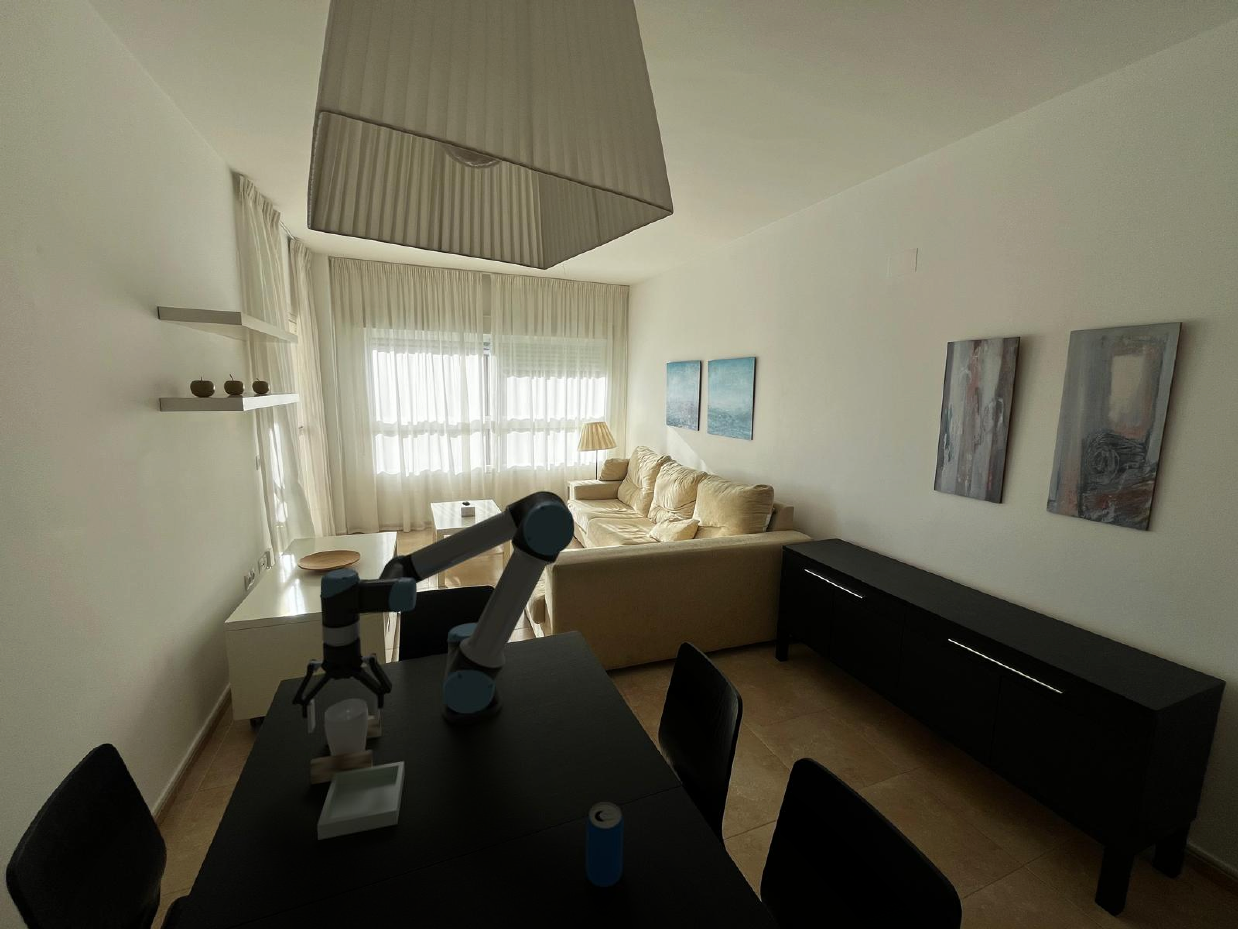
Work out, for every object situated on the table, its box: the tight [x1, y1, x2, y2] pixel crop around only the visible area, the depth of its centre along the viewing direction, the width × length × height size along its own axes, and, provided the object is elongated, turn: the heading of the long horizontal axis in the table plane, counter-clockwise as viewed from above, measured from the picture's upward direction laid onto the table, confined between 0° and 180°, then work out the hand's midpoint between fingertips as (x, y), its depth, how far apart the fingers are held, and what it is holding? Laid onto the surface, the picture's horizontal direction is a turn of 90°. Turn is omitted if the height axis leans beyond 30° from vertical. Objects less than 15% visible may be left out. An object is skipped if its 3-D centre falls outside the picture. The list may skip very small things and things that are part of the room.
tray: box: [316, 761, 406, 841], centre depth 107 cm, size 14×14×3 cm
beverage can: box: [585, 801, 624, 888], centre depth 93 cm, size 6×6×12 cm
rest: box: [309, 714, 382, 785], centre depth 121 cm, size 12×14×5 cm
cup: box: [324, 698, 369, 756], centre depth 120 cm, size 9×9×12 cm
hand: (345, 725), depth 120 cm, fingers open, 13 cm apart
